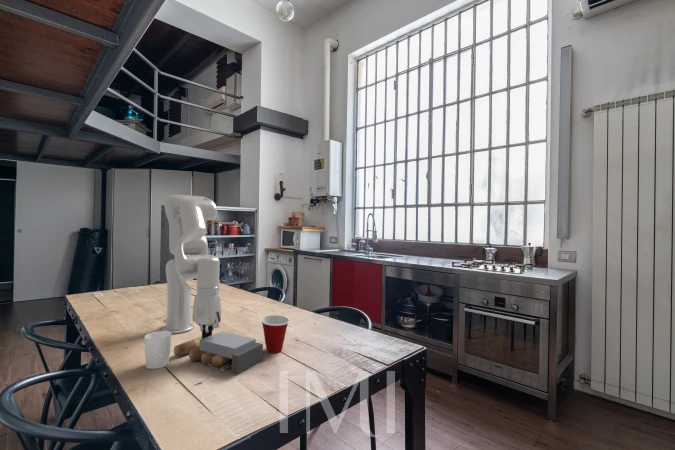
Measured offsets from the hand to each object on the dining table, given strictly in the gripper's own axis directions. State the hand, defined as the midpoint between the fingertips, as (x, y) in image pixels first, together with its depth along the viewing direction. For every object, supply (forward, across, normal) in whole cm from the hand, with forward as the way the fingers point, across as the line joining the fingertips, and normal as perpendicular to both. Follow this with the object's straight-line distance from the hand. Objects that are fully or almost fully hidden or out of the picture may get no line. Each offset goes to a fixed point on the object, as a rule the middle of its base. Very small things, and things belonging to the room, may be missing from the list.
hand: (206, 342), depth 116 cm
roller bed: (+5, -1, 0) cm, 5 cm away
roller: (+3, +9, 0) cm, 10 cm away
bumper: (+5, +19, 0) cm, 20 cm away
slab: (+1, +10, 0) cm, 10 cm away
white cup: (+5, -8, -13) cm, 16 cm away
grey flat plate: (+5, +11, 0) cm, 12 cm away
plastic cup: (+5, +18, +16) cm, 25 cm away
